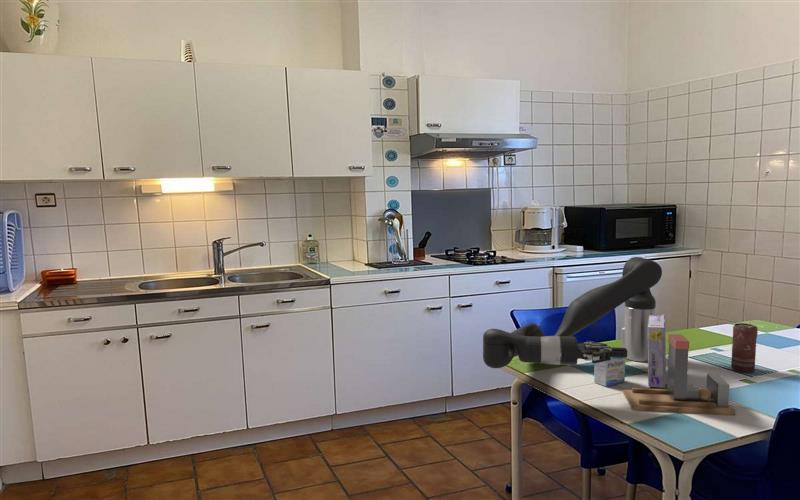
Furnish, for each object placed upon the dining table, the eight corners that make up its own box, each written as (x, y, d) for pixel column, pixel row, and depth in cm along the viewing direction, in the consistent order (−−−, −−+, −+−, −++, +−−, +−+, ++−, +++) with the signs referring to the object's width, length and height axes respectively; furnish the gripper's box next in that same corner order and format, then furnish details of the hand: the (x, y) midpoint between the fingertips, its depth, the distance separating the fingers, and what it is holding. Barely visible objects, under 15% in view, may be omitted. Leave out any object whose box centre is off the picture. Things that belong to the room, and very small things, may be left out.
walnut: (692, 400, 144) (693, 387, 143) (699, 397, 146) (700, 384, 145) (706, 404, 141) (707, 391, 140) (713, 401, 143) (714, 388, 142)
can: (759, 373, 165) (761, 328, 164) (735, 372, 167) (738, 327, 165) (750, 367, 171) (753, 323, 170) (728, 366, 173) (730, 322, 171)
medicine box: (605, 387, 157) (606, 357, 156) (593, 382, 161) (594, 353, 160) (625, 382, 161) (625, 353, 160) (612, 377, 165) (613, 349, 164)
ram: (673, 401, 141) (675, 340, 140) (666, 392, 148) (668, 334, 146) (699, 402, 140) (701, 341, 138) (691, 393, 147) (693, 334, 145)
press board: (632, 409, 141) (632, 401, 141) (623, 393, 152) (623, 386, 152) (734, 415, 137) (735, 406, 137) (718, 398, 148) (718, 390, 147)
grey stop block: (717, 407, 139) (718, 384, 138) (706, 395, 147) (707, 373, 146) (728, 407, 138) (729, 384, 138) (716, 395, 146) (717, 373, 145)
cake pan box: (647, 367, 173) (649, 311, 171) (665, 369, 171) (667, 313, 169) (645, 387, 156) (647, 326, 154) (665, 390, 154) (667, 328, 152)
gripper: (556, 356, 155) (622, 358, 151) (559, 372, 142) (631, 375, 138) (556, 330, 154) (622, 331, 150) (560, 343, 141) (632, 346, 137)
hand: (626, 352), depth 144 cm, fingers closed
